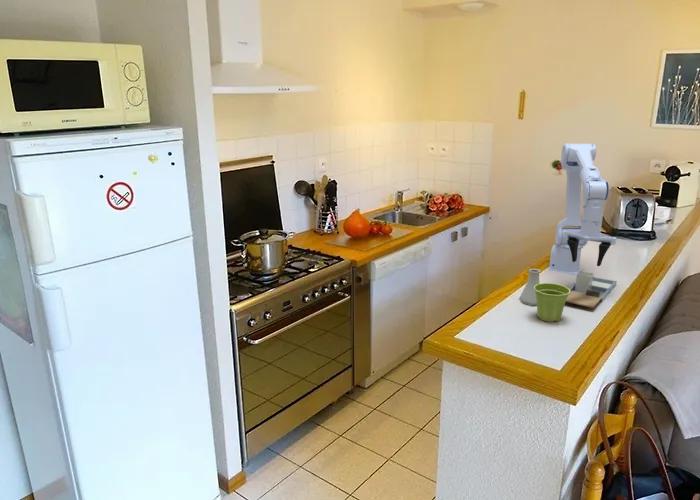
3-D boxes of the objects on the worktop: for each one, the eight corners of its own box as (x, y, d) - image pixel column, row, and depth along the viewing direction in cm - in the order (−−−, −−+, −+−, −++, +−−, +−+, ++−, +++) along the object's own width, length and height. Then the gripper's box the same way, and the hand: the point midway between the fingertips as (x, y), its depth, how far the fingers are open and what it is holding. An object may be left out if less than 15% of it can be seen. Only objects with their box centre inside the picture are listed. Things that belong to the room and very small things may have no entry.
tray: (566, 296, 164) (566, 291, 163) (582, 279, 178) (583, 275, 178) (601, 303, 158) (602, 298, 157) (615, 285, 172) (616, 281, 172)
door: (557, 300, 156) (558, 293, 156) (566, 291, 163) (567, 285, 163) (593, 307, 150) (594, 301, 150) (601, 298, 157) (602, 291, 157)
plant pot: (563, 327, 142) (566, 297, 140) (527, 320, 147) (530, 290, 144) (569, 315, 150) (573, 286, 147) (535, 308, 154) (538, 280, 152)
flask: (532, 308, 155) (535, 275, 152) (514, 300, 161) (516, 268, 158) (549, 303, 158) (553, 271, 155) (531, 295, 164) (534, 265, 162)
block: (574, 290, 167) (576, 274, 165) (578, 287, 170) (580, 271, 168) (588, 293, 165) (590, 276, 163) (591, 289, 168) (593, 273, 166)
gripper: (563, 219, 162) (558, 262, 166) (614, 226, 154) (608, 270, 157) (569, 215, 167) (565, 256, 171) (620, 221, 159) (614, 264, 163)
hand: (586, 263), depth 165 cm, fingers open, 7 cm apart
